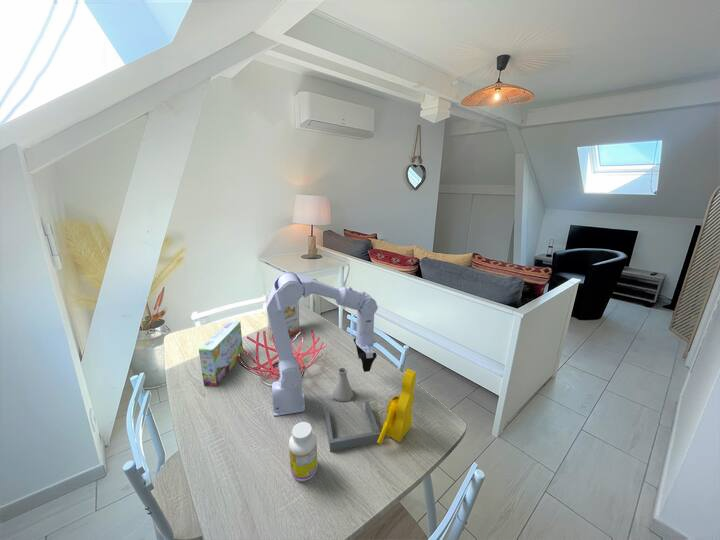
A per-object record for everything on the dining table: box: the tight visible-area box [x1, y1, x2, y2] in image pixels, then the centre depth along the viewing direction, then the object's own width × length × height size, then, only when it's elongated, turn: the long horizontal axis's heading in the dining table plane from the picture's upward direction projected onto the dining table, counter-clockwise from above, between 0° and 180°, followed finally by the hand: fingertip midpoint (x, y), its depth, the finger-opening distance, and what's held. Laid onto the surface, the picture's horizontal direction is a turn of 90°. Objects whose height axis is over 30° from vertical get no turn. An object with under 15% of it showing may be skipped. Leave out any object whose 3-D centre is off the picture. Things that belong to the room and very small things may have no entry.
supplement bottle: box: [288, 421, 318, 482], centre depth 69 cm, size 7×7×13 cm
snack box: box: [198, 320, 244, 387], centre depth 108 cm, size 21×6×15 cm, turn 178°
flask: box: [332, 366, 354, 403], centre depth 95 cm, size 7×7×10 cm
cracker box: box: [265, 296, 300, 341], centre depth 131 cm, size 14×6×21 cm, turn 142°
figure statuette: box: [377, 368, 417, 445], centre depth 79 cm, size 18×8×22 cm, turn 147°
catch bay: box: [324, 400, 381, 452], centre depth 83 cm, size 14×12×3 cm
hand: (364, 364), depth 98 cm, fingers open, 7 cm apart
